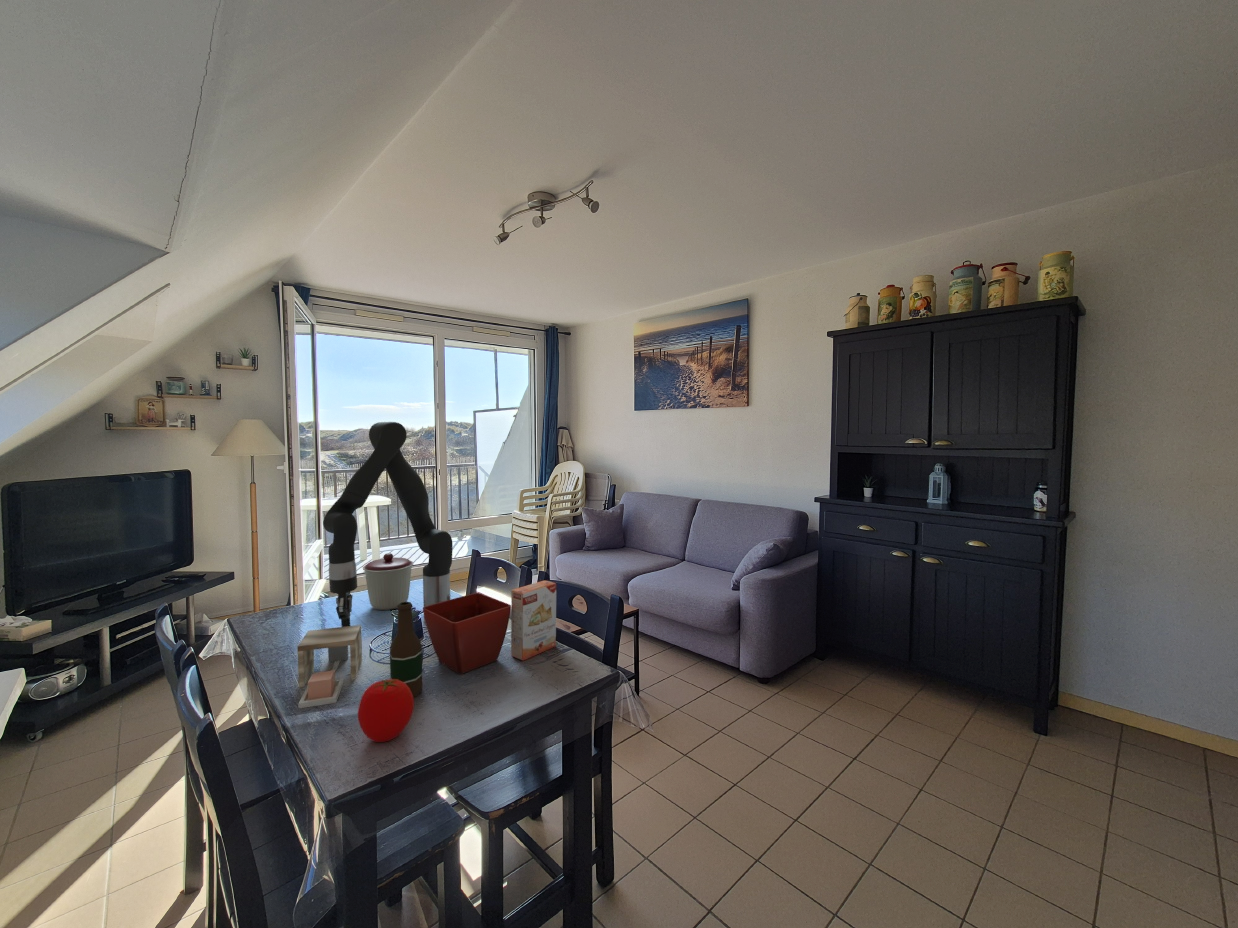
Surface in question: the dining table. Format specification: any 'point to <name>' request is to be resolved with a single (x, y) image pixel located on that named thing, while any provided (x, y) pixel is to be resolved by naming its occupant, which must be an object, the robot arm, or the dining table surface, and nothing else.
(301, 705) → the grey elongated piece
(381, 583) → the canister
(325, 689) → the coral block
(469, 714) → the dining table surface
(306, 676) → the tunnel
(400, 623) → the beer bottle
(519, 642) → the cracker box
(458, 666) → the plant pot
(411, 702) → the tomato
